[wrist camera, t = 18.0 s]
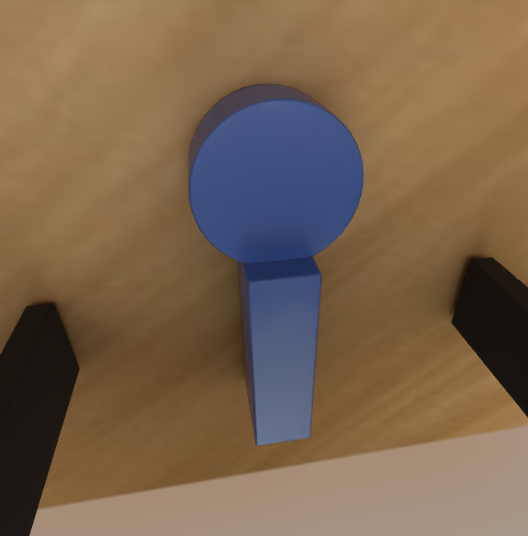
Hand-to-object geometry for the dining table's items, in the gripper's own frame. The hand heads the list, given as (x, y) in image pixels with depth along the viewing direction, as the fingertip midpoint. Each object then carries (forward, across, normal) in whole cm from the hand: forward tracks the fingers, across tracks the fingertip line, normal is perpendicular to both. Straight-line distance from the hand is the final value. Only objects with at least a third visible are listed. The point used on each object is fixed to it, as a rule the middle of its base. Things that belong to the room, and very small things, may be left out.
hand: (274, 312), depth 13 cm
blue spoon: (0, 0, +2) cm, 2 cm away
